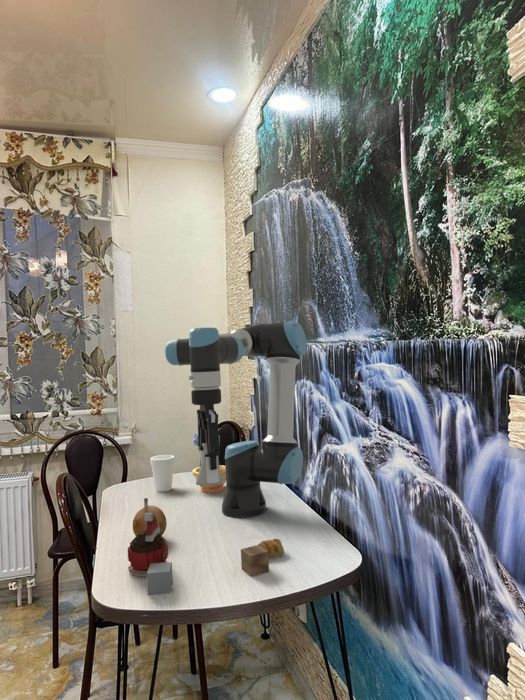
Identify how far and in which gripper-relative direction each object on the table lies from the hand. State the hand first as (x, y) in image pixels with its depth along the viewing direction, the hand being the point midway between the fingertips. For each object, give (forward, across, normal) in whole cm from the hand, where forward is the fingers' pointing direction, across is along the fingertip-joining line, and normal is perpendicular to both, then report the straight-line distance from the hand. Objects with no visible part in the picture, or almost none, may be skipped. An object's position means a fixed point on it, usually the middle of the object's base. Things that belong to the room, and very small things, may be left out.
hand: (209, 478), depth 121 cm
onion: (+22, -24, -13) cm, 35 cm away
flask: (+1, 0, 0) cm, 1 cm away
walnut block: (+22, +7, +9) cm, 25 cm away
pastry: (+22, 0, +15) cm, 27 cm away
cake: (+22, -4, -16) cm, 27 cm away
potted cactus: (+22, -69, +16) cm, 74 cm away
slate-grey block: (+22, +7, -14) cm, 27 cm away
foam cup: (+22, -78, -2) cm, 81 cm away
